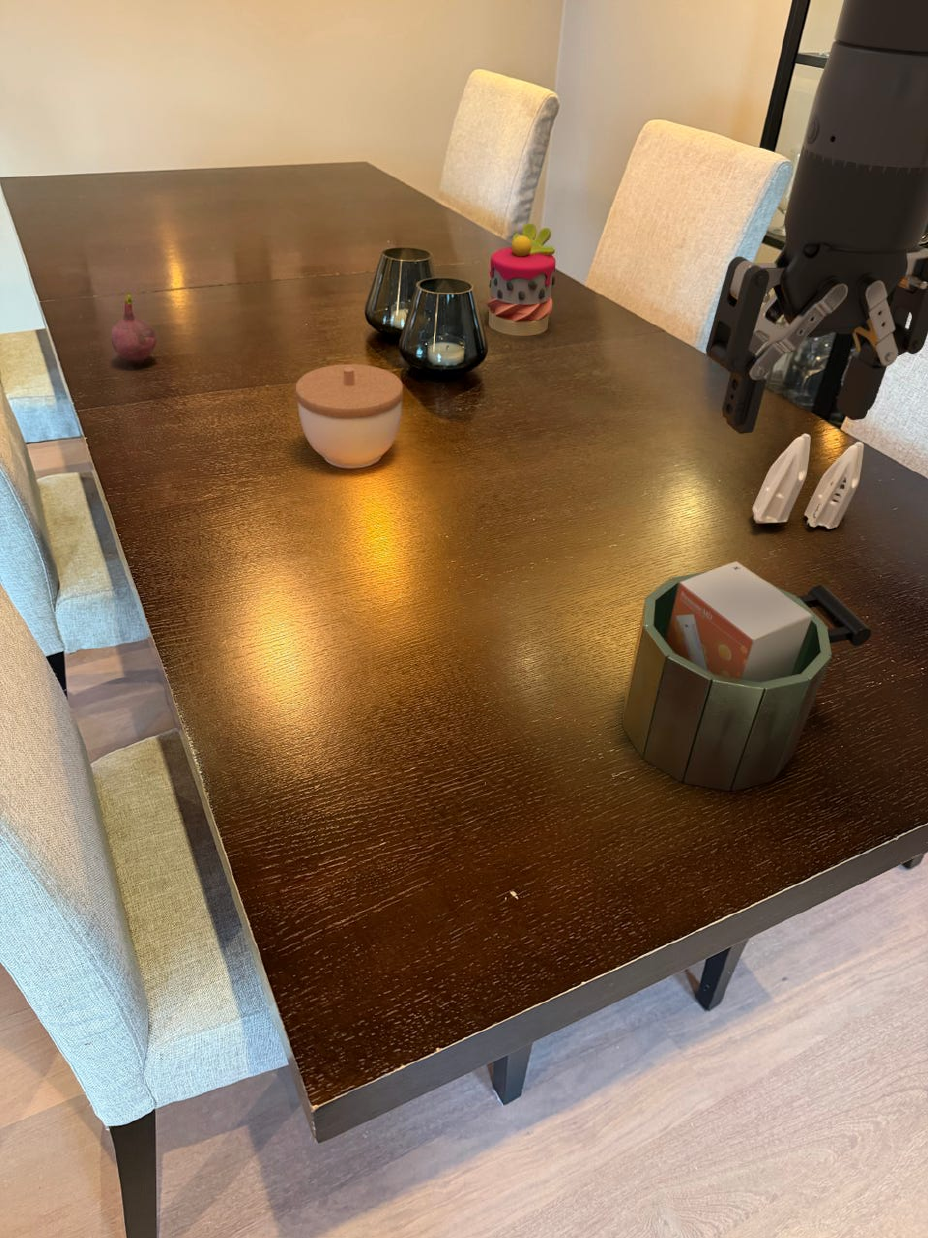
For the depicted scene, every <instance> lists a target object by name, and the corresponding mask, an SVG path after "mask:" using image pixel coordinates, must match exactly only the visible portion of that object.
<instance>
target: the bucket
mask: <svg viewBox="0 0 928 1238" xmlns="http://www.w3.org/2000/svg"><path fill="white" fill-rule="evenodd" d="M708 571H709V570H708ZM708 571H702V572H697V573H690V574H684V575H679V576H678V575H677V576H674V577H671V578H668V579H667V580H666V581H664V582H663V583H661V584H660V585H659V586H658V587H657V588H656V589H654V590H653V591H651V592H650V593H649V594H648V595H646V597H644V604H643V607H642V612H641V613H642V614H641V617H640V618H641V619H640V623H639V627H638V632H637V638H636V642H635V647H634V651H633V657H632V660H631V661H632V662H631V665H630V670H629V676H628V680H627V685H626V690H625V694H624V701H623V702H624V703H623V713H622V722H621V726H622V729H623V731H624V733H625V734H626V735H627V737H628V739H629V741H630V742H631V744H632V745H633V747H634V749H636V751H637V753H638V755H639V756H640V758H643V760H644V761H645V762H647V763H649V764H650V765H652V766H653V767H654V768H657V769H659V770H660V771H662V772H663V773H665V774H667V776H670V777H672V778H673V779H675V780H676V781H678V782H679V783H683V784H685V785H690V786H697V787H701V788H706V789H713V790H719V791H723V792H737V791H740V790H745V789H748V788H753V787H756V786H760V785H764V784H768V783H771V782H773V781H774V779H776V778H777V776H778V775H779V773H781V771H782V770H783V769H784V768H785V766H786V765H787V764H788V763H789V762H790V760H791V759H792V758H793V757H794V754H795V751H796V749H797V746H798V743H799V741H800V738H801V735H802V733H803V731H804V728H805V726H806V723H807V720H808V718H809V715H810V714H811V713H810V712H811V711H812V710H811V709H812V708H813V705H814V702H815V699H816V698H817V695H818V692H819V690H820V687H821V684H822V682H823V679H824V676H825V674H826V671H827V669H828V666H829V664H830V662H831V659H832V656H833V654H832V648H831V644H834V643H841V642H844V641H848V643H850V644H851V645H852V646H853V647H859V646H862V645H864V644H865V643H867V642H868V640H870V638H871V636H872V633H873V632H872V629H871V628H870V627H869V626H868V625H867V624H866V623H865V622H864V621H862V620H861V619H860V617H858V616H857V615H856V613H854V611H852V610H851V609H850V608H849V607H848V606H847V605H846V604H844V602H842V601H841V599H839V597H838V596H837V595H835V594H834V593H833V592H832V591H831V590H830V589H829V588H828V587H827V586H826V585H824V584H817V585H815V586H812V587H811V589H810V590H809V591H808V593H807V594H804V595H799V596H798V595H795V594H792V593H791V592H788V591H786V590H784V589H782V588H780V587H778V586H775V585H773V586H774V587H776V588H777V589H778V590H779V591H781V592H782V593H783V594H784V595H786V596H787V597H788V598H790V599H791V600H792V601H794V602H795V603H797V604H798V605H799V606H801V607H802V608H803V609H805V610H806V611H807V612H809V613H810V614H812V619H811V622H810V624H809V627H808V629H807V632H806V635H805V638H804V640H803V643H802V646H801V649H800V652H799V654H798V657H797V660H796V663H795V665H794V668H793V671H792V673H791V676H788V677H783V678H778V679H774V680H769V681H764V682H758V681H751V680H745V679H739V678H733V677H727V676H721V675H715V674H713V673H711V672H709V671H707V670H705V669H704V668H702V667H700V666H698V665H696V664H694V663H692V662H690V661H688V660H687V659H685V658H683V657H681V656H679V655H677V654H675V653H674V652H673V650H672V649H671V648H670V647H669V645H668V644H667V643H666V637H667V633H668V629H669V625H670V621H671V617H672V612H673V608H674V604H675V600H676V596H677V592H678V588H679V583H680V582H682V581H685V580H687V579H690V578H692V577H695V576H698V575H700V574H703V573H705V572H708ZM811 608H814V609H815V610H816V611H817V612H818V613H820V615H822V617H824V619H825V620H826V621H827V622H829V624H830V625H832V626H833V628H830V629H828V626H827V625H826V623H825V622H824V621H823V620H822V619H821V618H820V617H819V616H818V615H817V614H816V613H815V612H814V611H813V610H812V609H811Z"/></svg>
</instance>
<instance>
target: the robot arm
mask: <svg viewBox="0 0 928 1238" xmlns="http://www.w3.org/2000/svg"><path fill="white" fill-rule="evenodd" d="M833 39H834V41H833V42H832V44H831V48H830V51H829V54H828V57H827V60H826V63H825V65H824V68H823V71H822V73H821V75H820V78H819V82H818V84H817V87H816V89H815V94H814V97H813V101H812V105H811V108H810V113H809V117H808V121H807V125H806V129H805V133H804V137H803V142H802V146H801V149H800V153H799V157H798V162H797V165H796V170H795V174H794V178H793V182H792V186H791V190H790V193H789V198H788V203H787V207H786V210H785V213H784V214H785V215H784V220H783V222H784V232H785V233H784V235H785V238H784V239H785V240H784V246H783V247H782V249H781V251H780V253H779V255H778V256H777V258H776V259H775V261H774V262H753V261H750V260H749V259H747V258H745V257H743V256H740V255H739V256H736V257H733V259H731V260H730V261H729V263H728V265H727V269H726V272H725V276H724V280H723V284H722V288H721V291H720V294H719V299H718V302H717V306H716V310H715V314H714V316H713V317H714V318H713V321H712V325H711V329H710V332H709V335H708V336H709V337H708V340H707V344H706V347H705V353H706V356H708V357H709V358H710V359H712V361H714V362H716V363H717V364H718V365H719V366H721V367H722V368H724V369H725V370H726V371H727V372H729V378H728V381H727V387H726V390H725V396H724V401H723V404H722V408H721V411H722V412H721V413H722V417H724V419H725V420H726V424H727V425H728V426H729V427H730V428H731V429H732V430H734V431H735V432H737V434H739V435H744V434H751V433H753V432H754V430H755V426H756V423H757V419H758V415H759V411H760V407H761V404H762V400H763V396H764V393H765V392H764V391H765V388H766V385H767V382H768V379H766V378H765V376H766V375H767V374H768V373H769V372H770V371H771V369H773V367H774V366H775V365H776V364H777V363H778V362H779V361H780V360H781V358H782V357H783V356H784V355H786V354H790V353H793V352H795V351H796V350H797V349H798V348H799V347H800V345H802V343H804V341H805V340H806V339H807V338H820V337H823V336H826V335H830V334H832V333H836V334H840V335H852V338H853V341H854V343H855V346H856V349H857V351H858V352H859V354H852V355H851V357H850V360H849V363H848V367H847V370H846V372H845V376H844V380H843V381H842V385H841V388H840V391H839V394H838V398H837V401H836V409H837V411H838V412H839V413H841V414H842V415H844V417H846V418H848V419H849V420H850V421H859V420H864V419H865V418H866V417H867V415H868V412H869V411H870V410H871V409H872V407H873V405H874V404H875V402H876V400H877V397H878V394H879V391H880V388H881V385H882V382H883V379H884V377H885V374H886V371H887V368H888V367H889V366H891V365H892V364H894V363H895V362H896V360H897V358H898V357H899V356H902V355H904V354H906V353H908V354H910V355H916V354H918V353H919V352H921V350H922V349H923V348H924V347H925V344H926V340H927V337H928V248H926V247H923V246H921V245H918V244H920V242H921V241H922V239H923V236H924V234H925V231H926V228H927V226H928V0H843V1H842V5H841V10H840V14H839V18H838V22H837V26H836V30H835V34H834V37H833ZM772 289H773V292H774V293H773V294H772V295H770V294H769V293H770V292H771V290H772ZM892 292H894V294H893V297H892V301H891V305H890V306H889V303H888V300H887V299H888V297H889V296H890V294H892ZM763 303H764V305H763ZM910 315H911V318H910V322H909V325H908V327H906V326H907V322H908V320H909V316H910ZM782 316H783V319H784V320H785V322H786V323H787V324H788V325H786V326H785V327H780V326H778V325H777V323H778V321H779V320H780V319H781V318H782ZM760 349H761V350H760ZM759 350H760V351H759Z"/></svg>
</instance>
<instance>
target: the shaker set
mask: <svg viewBox="0 0 928 1238" xmlns="http://www.w3.org/2000/svg"><path fill="white" fill-rule="evenodd" d="M811 438H812V437H811V435H810V434H809V433H803V434H801V435H800V436H798V437H796V438H795V439H794V440H793V441H792V442H791V443H790V444H789V445H788V446H787V447H786V449H785V450H783V452H782V453H781V454H780V455H779V456H778V458H777V459H776V460H775V461H774V463H773V464H772V465H771V466H770V467H769V470H768V471H767V473H766V476H765V477H764V480H763V483H762V484H761V487H760V490H759V492H758V494H757V497H756V498H755V501H754V504H753V506H752V509H751V510H752V514H753V520H754V521H755V524H777V523H787V521H788V520H789V517H790V515H791V512H792V510H793V508H794V505H795V503H796V501H797V500H798V499H797V498H798V496H799V494H800V493H801V490H802V488H803V485H804V484H805V481H806V478H807V475H808V474H807V473H808V469H809V459H810V453H811V452H810V451H811ZM864 449H865V445H864V443H863V442H861V441H856V442H854V444H852V445H849V447H847V448H846V450H845V451H843V453H842V454H841V455H840V456H838V458H836V460H835V461H834V462H833V463H832V464H831V465H830V467H829V468H828V469H826V471H825V472H824V473H823V474H822V476H821V478H820V480H819V482H818V483H817V486H816V488H815V490H814V492H813V493H812V496H811V498H810V501H809V502H808V505H807V507H806V509H805V512H804V513H803V514H804V516H805V517H806V518H807V521H806V525H808V524H809V526H810V527H812V528H816V527H817V526H820V527H825V528H826V529H828V530H829V529H830V530H831V529H834V528H838V526H839V525H840V523H841V521H842V519H843V517H844V515H845V513H846V511H847V509H848V507H849V505H850V503H851V501H852V498H853V497H854V495H855V493H856V490H857V488H858V485H859V483H860V477H861V471H862V466H863V465H862V464H863V459H864V457H863V456H864Z"/></svg>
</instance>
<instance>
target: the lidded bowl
mask: <svg viewBox="0 0 928 1238" xmlns="http://www.w3.org/2000/svg"><path fill="white" fill-rule="evenodd" d="M294 390H295V398H296V401H297V409H298V416H299V421H300V425H301V428H302V432H303V434H304V435H305V436H304V437H305V438H306V440H307V442H308V443H309V445H310V446H311V447H312V448H313V450H314V451H315V452H316V453H318V454H319V455H320V456H321V457H322V458H323V460H325V461H326V462H327V464H330V465H332V466H334V467H337V468H340V469H341V468H342V469H361V468H367V467H371V466H372V465H374V464H376V463H377V462H378V461H379V462H380V459H381V458H382V456H383V455H384V454H385V453H387V451H389V450H390V448H391V447H392V445H393V444H394V443H395V441H396V439H397V436H398V434H399V432H400V427H401V423H402V415H403V398H404V385H403V382H402V381H401V379H400V378H399V377H398V376H397V375H396V374H395V373H393V372H391V371H388V370H387V369H384V368H380V367H376V366H373V365H366V364H356V363H355V364H354V363H352V364H350V363H347V364H346V363H345V364H344V363H343V364H334V365H327V366H322V367H320V368H316V369H313V370H310V371H309V372H307V373H305V374H303V375H302V376H301V377H300V378H299V379H298V380H297V382H296V383H295V388H294Z"/></svg>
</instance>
